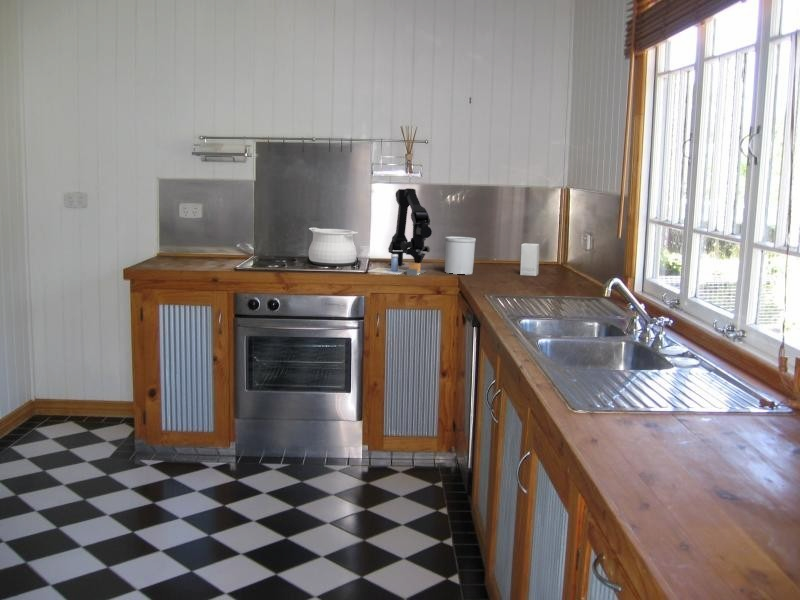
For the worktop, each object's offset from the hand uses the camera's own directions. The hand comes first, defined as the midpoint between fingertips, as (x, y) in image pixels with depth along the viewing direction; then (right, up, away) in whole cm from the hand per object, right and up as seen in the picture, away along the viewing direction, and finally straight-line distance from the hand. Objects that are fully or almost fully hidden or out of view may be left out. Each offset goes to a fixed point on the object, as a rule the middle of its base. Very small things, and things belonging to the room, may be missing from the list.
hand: (417, 268), depth 428 cm
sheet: (-14, -1, +4) cm, 14 cm away
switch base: (0, -3, 0) cm, 3 cm away
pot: (-43, +3, +23) cm, 49 cm away
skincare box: (+56, -3, +12) cm, 57 cm away
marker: (-11, -1, +1) cm, 11 cm away
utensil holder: (+21, -2, +8) cm, 22 cm away
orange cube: (-1, -2, -3) cm, 4 cm away
